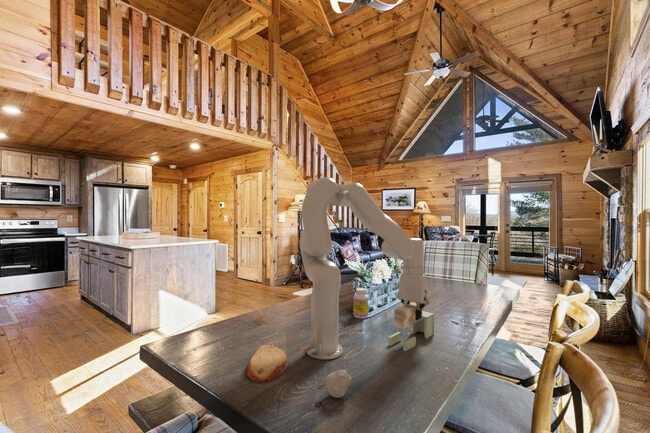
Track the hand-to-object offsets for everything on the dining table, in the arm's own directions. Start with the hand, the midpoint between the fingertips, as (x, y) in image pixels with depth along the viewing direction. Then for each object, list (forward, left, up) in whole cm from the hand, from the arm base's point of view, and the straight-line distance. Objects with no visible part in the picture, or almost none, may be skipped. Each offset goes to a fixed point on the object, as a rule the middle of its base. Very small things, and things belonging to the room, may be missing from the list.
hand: (413, 317), depth 118 cm
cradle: (-8, 0, -8) cm, 11 cm away
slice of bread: (-51, +23, -9) cm, 57 cm away
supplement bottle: (+6, +30, -8) cm, 32 cm away
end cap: (+8, 0, -8) cm, 11 cm away
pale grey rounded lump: (-48, -5, -9) cm, 49 cm away
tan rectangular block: (-3, 0, -1) cm, 4 cm away
